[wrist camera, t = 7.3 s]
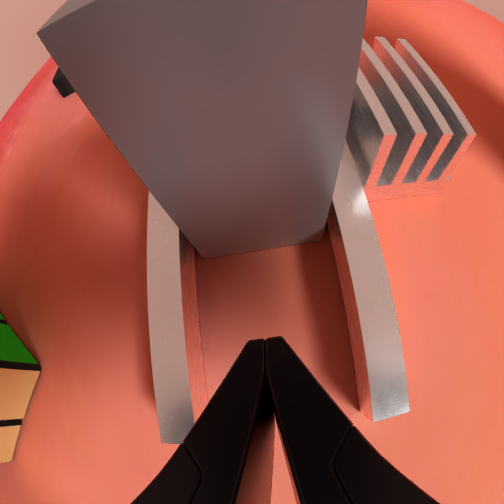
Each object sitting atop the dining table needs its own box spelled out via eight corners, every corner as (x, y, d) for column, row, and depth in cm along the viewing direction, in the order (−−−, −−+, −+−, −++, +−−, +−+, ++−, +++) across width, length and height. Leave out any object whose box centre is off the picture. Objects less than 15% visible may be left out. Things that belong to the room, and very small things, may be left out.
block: (321, 240, 15) (370, -42, 3) (203, 259, 15) (36, 33, 3) (285, 104, 18) (270, -80, 6) (198, 119, 19) (134, -53, 7)
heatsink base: (483, 369, 11) (552, 364, 6) (180, 431, 12) (125, 464, 7) (393, 100, 18) (410, 39, 12) (168, 128, 19) (139, 67, 14)
